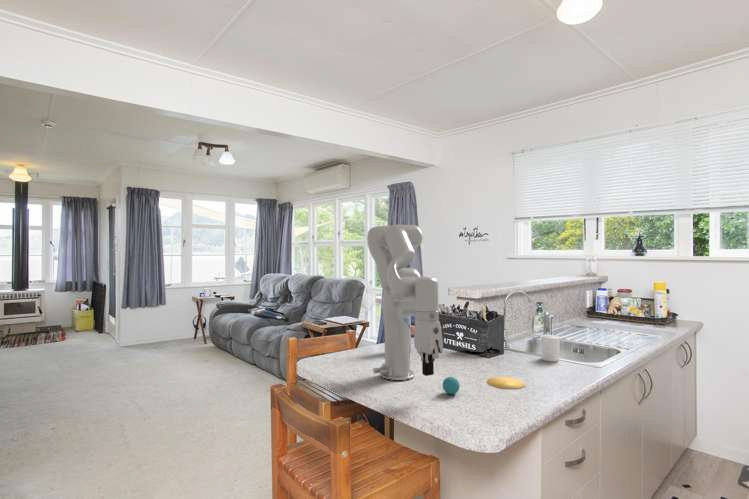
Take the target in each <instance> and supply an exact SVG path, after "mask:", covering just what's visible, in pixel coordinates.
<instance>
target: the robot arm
mask: <svg viewBox="0 0 749 499" xmlns="http://www.w3.org/2000/svg"><path fill="white" fill-rule="evenodd" d="M366 240H367V246H368V250H369V253H370V254H371V257H372V259H373V260H374V262H375V265H376V269H377V274H378V278H379V282H380V285H381V288H382V290H383V291H385V292H386V294H385V295H384V296H383V297H382V299H381V308H382V309H381V310H382V313H383V314H382V315H383V323H384V327H383V328H384V363H382V364H381V366H380V367H374V368H372V372H373V374H380V377H381V376H382V377H383V379H384V378H386V379H385V380H387V379H391V380H390V381H393V380H403V381H408V380H407V379H409V380H411V378H412V379H413V378H414V377H415V372H414V371H413V370H411V354H410V329H409V326H408V325H407V323H406V322H405V321H404V319H403V318H404V317H411V318H412V317H414V321H415V322H414V330H413V333H414V334H413V338H414V339H413V342H414V343H413V344H414V349H415V350H416V353H417V354H418V355H419V356H420V361H421V363H422V364H421V366H422V368H421V370H422V375H423V376H427V377H428V376H433V375H434V374H435V372H434V371H435V370H434V363H435V361H436V359H439V358H440V355H439V354H442V353H443V351H444V344H443V340H444V339H443V331H442V327H441V321H440V317H439V315H440V314H439V313H440V312H439V308H440V307H439V282H438V281H439V280H438V279H437V278H436V277H427V276H424V275H423V276H421V274H420V273H419V272H418V271H419V270H417V269H416V268H415V267H414V268H413V267H408V266H409V265H411V264H412V263H413V262H414V260H415V259H416V252H415V249H414V248H417V247H419V246H421V244H422V242H423V231H422V230H421V229H420V227H419V226H418V225H416V224H392V225H379V226H377V225H376V226H374V227H371V228H369V230H368V232H367V238H366ZM382 377H381V378H382Z"/></svg>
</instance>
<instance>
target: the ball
mask: <svg viewBox="0 0 749 499" xmlns="http://www.w3.org/2000/svg"><path fill="white" fill-rule="evenodd" d="M460 387H461V386H460V381H459V380H458V379H457V378H456V377H453V376H448V377H445V379H443V382H442V389H443V391H444V393H446V394H447V395H455V394H457V393H458V392H459V391H460Z"/></svg>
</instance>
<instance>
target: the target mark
mask: <svg viewBox="0 0 749 499" xmlns="http://www.w3.org/2000/svg"><path fill="white" fill-rule="evenodd" d="M486 382H487V384H488V385H489V386H492V387H494V388H498V389H504V390H520V389H522V388H525V387H526V382H524V381H522V380H521V379H518V378H515V377H507V376H496V377H489V378H488V379H487V380H486Z"/></svg>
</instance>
